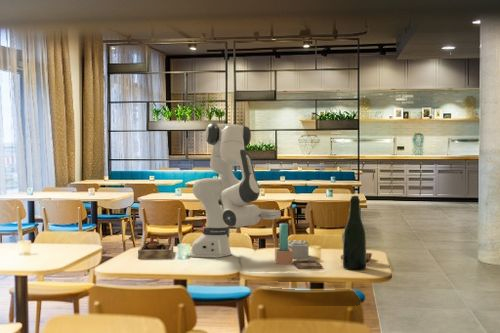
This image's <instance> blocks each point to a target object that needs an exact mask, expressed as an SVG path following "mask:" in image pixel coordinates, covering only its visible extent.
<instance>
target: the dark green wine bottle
mask: <svg viewBox="0 0 500 333" xmlns="http://www.w3.org/2000/svg"><path fill="white" fill-rule="evenodd" d="M360 203H361V200H360V198H359V195H351V197H350V199H349V216H348V219H347V223H346V224H345V226H344V230H343V232H344V239H343V241H342V246H343V247H342V255H343V259H342V267H343V268H344V269H345V270H349V271H362V270H365V269H366V268H367V261H366V253H367V234H366V233H367V232H366V229H365V226H364V223H363V221H362V217H361V211H360V210H361V208H360V206H361V205H360Z"/></svg>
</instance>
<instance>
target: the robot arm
mask: <svg viewBox="0 0 500 333" xmlns="http://www.w3.org/2000/svg"><path fill="white" fill-rule="evenodd" d="M204 138H205V141H206V143H207V144H208V145H212V147H211V155H210V161H209V166H210V169H211V170H212V171H213V172H215V173H216V174H218V176H217V177H206V178H200V179H197V180H196V181H195V182H194V183H193V185H192V193H193V194H192V195H193V196H194V197H195V199H197V200H198V201H199V202H200V203H201V204H202V205H203V207H204V211H205V215H206V216H205V217H206V219H205V220H206V226H202V227H201V230H202V234H201V235H200V236H199V237H197V238H196V239H195V240H194V241H193V242H192V244H191V249H190V251H191V252H190V256H188V257H193V258H221V257H228V256H231V255H232V251H231V246H230V239H229V238H230V227H231V228H241V227H245V226H253V225H257V224H258V223H259V222H261V220H278V219H281V217H282V215H281V210H279V209H278V210H277V209H264V208H259V206H258V205H256V204H251V203H252V202H255V201H256V200H258V199H259V197H260V186H259V183H258V182H257V178H256V173H255V169H254V165H253V161H252V157H251V155H250V153H249V152H248V150H247V149H245V148H246V147H247V146H249V145H250V142H251V140H252V132H251V129H250V127H248V126H247V125H240V124H234V123H217V122H213V123H209V124H208V125H207V127H206V129H205V131H204ZM238 166H239V167H240V172H241V175H242V178H241V180H239V179H238V178H237V177H236V176H235V174H234V172H233V167H238ZM219 200H220V204H219ZM248 203H250V204H248Z"/></svg>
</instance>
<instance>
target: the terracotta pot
mask: <svg viewBox="0 0 500 333" xmlns="http://www.w3.org/2000/svg"><path fill="white" fill-rule="evenodd" d="M274 261H275V264H278V265H281V264H282V265H286V264H287V265H288V264H291V265H292V264H294V259H293V251H292V250H291V249H288V251H279V248H274Z"/></svg>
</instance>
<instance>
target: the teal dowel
mask: <svg viewBox="0 0 500 333" xmlns="http://www.w3.org/2000/svg"><path fill="white" fill-rule="evenodd" d="M278 225H279V234H278V235H279V246H278V247H279V248H278V249H279V251H288V242H289V224H288V223H279V224H278Z"/></svg>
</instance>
